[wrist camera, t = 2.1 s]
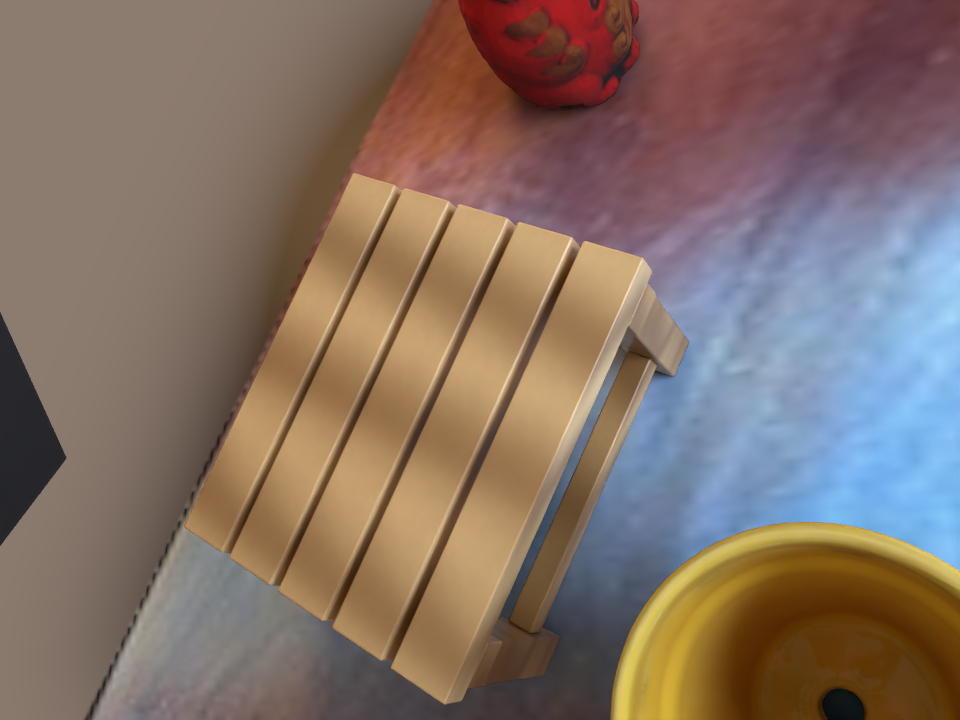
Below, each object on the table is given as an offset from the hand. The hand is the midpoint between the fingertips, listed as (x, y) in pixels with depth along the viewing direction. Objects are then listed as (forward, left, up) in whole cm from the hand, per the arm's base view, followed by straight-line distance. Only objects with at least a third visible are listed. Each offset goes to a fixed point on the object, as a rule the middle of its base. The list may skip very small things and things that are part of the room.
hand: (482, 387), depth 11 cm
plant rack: (+6, -9, -22) cm, 25 cm away
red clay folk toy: (-8, -22, -22) cm, 32 cm away
